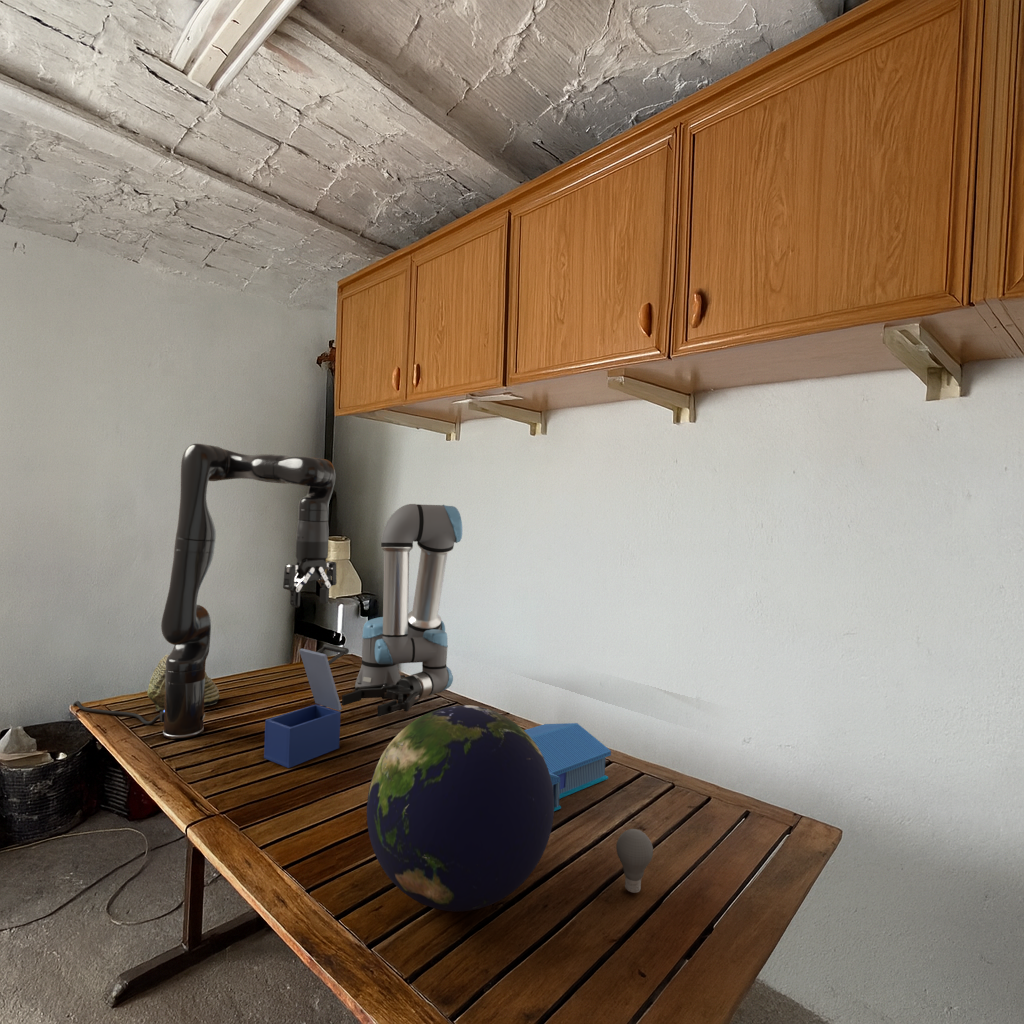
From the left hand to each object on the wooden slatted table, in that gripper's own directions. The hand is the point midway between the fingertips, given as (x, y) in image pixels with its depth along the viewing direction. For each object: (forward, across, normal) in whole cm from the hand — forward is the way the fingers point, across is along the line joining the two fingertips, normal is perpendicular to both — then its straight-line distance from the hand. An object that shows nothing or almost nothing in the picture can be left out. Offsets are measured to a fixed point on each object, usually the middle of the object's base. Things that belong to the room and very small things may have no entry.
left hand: (309, 605), depth 155 cm
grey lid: (+19, +4, 0) cm, 20 cm away
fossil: (+36, 0, +53) cm, 65 cm away
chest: (+36, 0, 0) cm, 37 cm away
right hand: (+30, +18, 0) cm, 35 cm away
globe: (+36, -22, -64) cm, 77 cm away
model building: (+36, +17, -52) cm, 66 cm away
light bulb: (+36, -4, -87) cm, 95 cm away
